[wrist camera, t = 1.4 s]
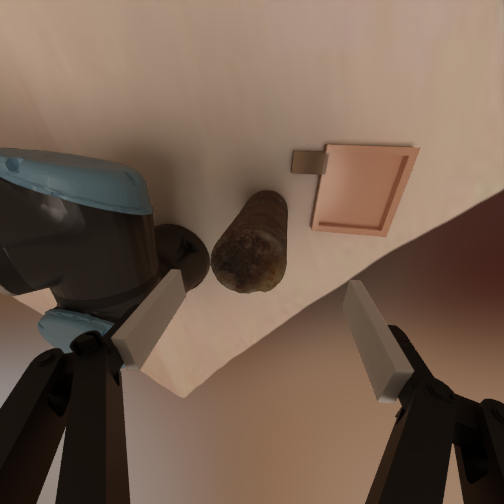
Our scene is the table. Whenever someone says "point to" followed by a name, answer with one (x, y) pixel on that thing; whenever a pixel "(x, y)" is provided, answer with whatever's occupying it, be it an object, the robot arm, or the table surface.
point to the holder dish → (361, 188)
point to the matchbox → (309, 162)
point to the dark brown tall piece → (253, 246)
